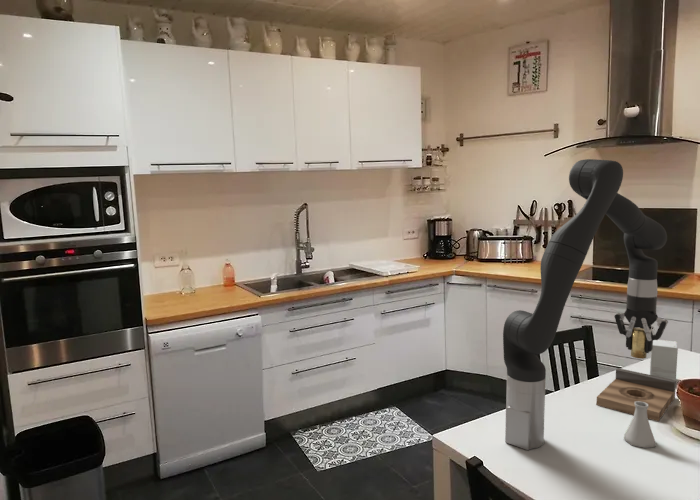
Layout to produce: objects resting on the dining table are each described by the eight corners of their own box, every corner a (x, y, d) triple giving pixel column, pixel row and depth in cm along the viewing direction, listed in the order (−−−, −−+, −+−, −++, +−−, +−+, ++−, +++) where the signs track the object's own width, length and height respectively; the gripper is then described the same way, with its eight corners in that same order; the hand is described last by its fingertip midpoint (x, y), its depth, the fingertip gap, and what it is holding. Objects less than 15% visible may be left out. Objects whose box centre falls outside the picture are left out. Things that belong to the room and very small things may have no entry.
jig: (658, 421, 139) (659, 402, 138) (596, 404, 150) (597, 387, 149) (674, 397, 153) (675, 380, 153) (617, 384, 164) (617, 368, 163)
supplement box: (675, 378, 168) (678, 341, 166) (675, 386, 162) (678, 347, 160) (649, 374, 172) (651, 338, 170) (648, 382, 166) (650, 344, 164)
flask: (660, 450, 124) (663, 411, 123) (628, 447, 126) (630, 409, 125) (649, 435, 131) (651, 398, 130) (619, 433, 133) (621, 396, 132)
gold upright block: (644, 359, 147) (645, 332, 146) (629, 356, 150) (630, 330, 148) (648, 355, 150) (649, 329, 149) (632, 353, 152) (634, 327, 151)
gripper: (611, 292, 149) (608, 349, 151) (667, 299, 140) (663, 359, 142) (618, 288, 155) (616, 342, 157) (673, 294, 145) (669, 352, 147)
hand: (638, 350), depth 149 cm, fingers closed on gold upright block, 4 cm apart
